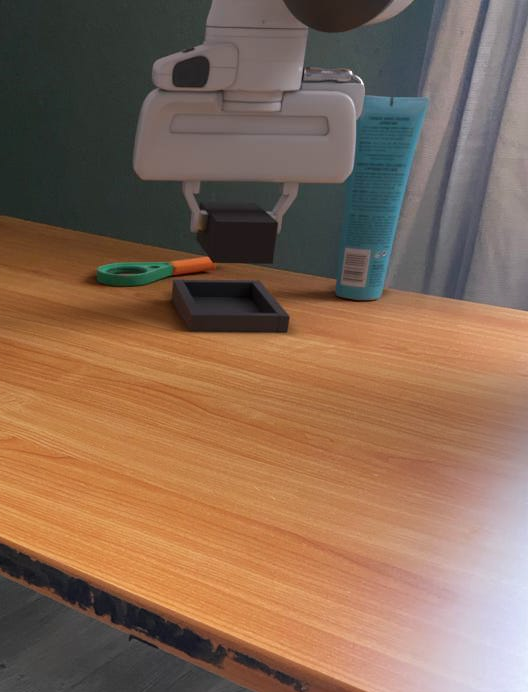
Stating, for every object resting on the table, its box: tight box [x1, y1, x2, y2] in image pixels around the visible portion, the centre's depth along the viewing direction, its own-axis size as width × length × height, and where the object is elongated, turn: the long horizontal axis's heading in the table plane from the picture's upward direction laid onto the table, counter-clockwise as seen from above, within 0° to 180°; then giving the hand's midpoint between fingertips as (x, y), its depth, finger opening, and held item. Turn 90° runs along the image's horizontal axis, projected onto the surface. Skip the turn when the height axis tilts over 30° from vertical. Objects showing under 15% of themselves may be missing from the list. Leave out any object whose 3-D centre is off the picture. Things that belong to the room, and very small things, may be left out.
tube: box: [334, 94, 431, 301], centre depth 103 cm, size 7×5×19 cm, turn 85°
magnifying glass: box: [96, 255, 218, 287], centre depth 114 cm, size 15×6×2 cm, turn 116°
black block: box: [195, 201, 278, 265], centre depth 95 cm, size 6×11×4 cm, turn 1°
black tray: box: [171, 279, 290, 334], centre depth 99 cm, size 9×15×2 cm, turn 1°
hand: (234, 232), depth 95 cm, fingers closed on black block, 5 cm apart
